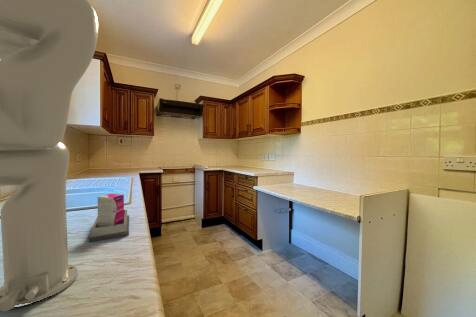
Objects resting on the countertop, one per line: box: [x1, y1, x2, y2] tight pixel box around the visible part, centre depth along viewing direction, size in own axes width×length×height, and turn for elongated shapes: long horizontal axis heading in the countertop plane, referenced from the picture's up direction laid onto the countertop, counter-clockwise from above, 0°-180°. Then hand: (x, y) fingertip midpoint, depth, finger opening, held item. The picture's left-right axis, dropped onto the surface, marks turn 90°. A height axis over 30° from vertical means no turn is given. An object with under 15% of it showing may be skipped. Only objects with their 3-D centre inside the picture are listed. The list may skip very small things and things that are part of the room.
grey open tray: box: [88, 209, 130, 243], centre depth 73 cm, size 18×11×8 cm, turn 28°
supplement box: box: [97, 193, 125, 227], centre depth 70 cm, size 6×6×12 cm
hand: (28, 152), depth 57 cm, fingers open, 9 cm apart
